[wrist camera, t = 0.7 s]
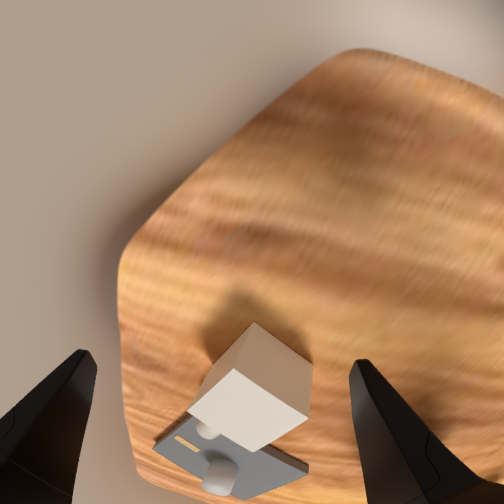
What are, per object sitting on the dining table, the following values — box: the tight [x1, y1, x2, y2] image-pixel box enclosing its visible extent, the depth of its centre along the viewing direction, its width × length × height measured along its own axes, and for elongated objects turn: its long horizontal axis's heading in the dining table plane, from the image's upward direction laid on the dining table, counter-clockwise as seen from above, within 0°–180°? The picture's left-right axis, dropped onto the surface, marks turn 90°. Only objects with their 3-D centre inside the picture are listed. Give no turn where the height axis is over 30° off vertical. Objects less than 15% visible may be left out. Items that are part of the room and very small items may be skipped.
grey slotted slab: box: [152, 414, 309, 500], centre depth 26 cm, size 14×12×5 cm
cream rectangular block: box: [187, 322, 313, 452], centre depth 21 cm, size 6×10×6 cm, turn 143°
